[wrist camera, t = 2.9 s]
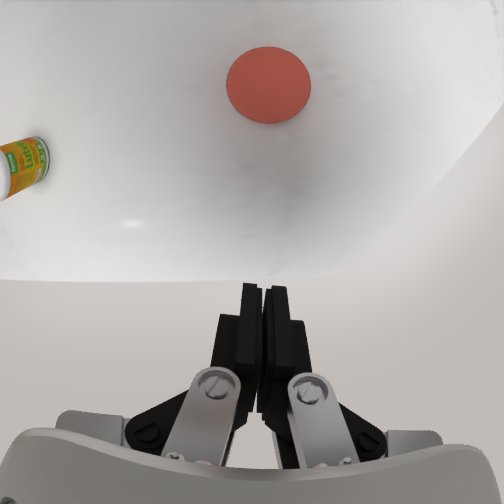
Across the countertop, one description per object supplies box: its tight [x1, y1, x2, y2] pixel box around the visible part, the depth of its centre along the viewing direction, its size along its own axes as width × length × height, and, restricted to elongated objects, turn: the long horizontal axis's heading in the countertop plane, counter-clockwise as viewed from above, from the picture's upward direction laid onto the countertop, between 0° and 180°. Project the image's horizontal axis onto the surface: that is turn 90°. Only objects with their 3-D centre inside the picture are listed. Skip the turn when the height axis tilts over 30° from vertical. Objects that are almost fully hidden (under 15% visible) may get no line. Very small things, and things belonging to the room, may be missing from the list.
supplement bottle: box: [0, 137, 49, 202], centre depth 17 cm, size 5×5×10 cm
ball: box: [226, 47, 311, 124], centre depth 17 cm, size 6×6×6 cm
